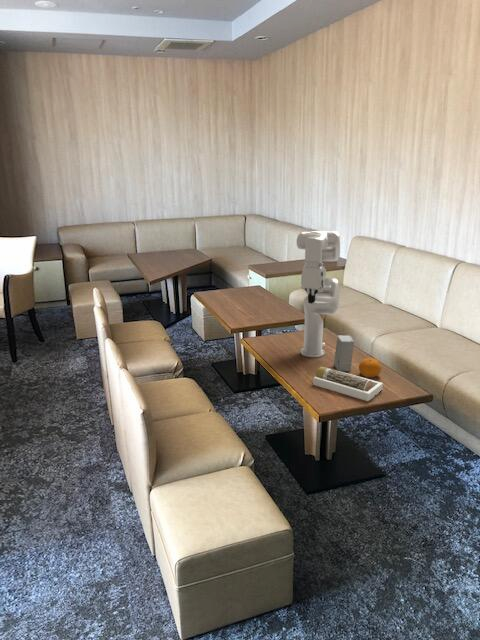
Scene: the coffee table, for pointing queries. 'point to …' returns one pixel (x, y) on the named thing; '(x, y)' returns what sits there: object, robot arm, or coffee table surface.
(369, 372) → the fruit
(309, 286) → the robot arm
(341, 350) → the skincare box
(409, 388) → the coffee table surface
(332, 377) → the paper tube
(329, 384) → the u-rest
